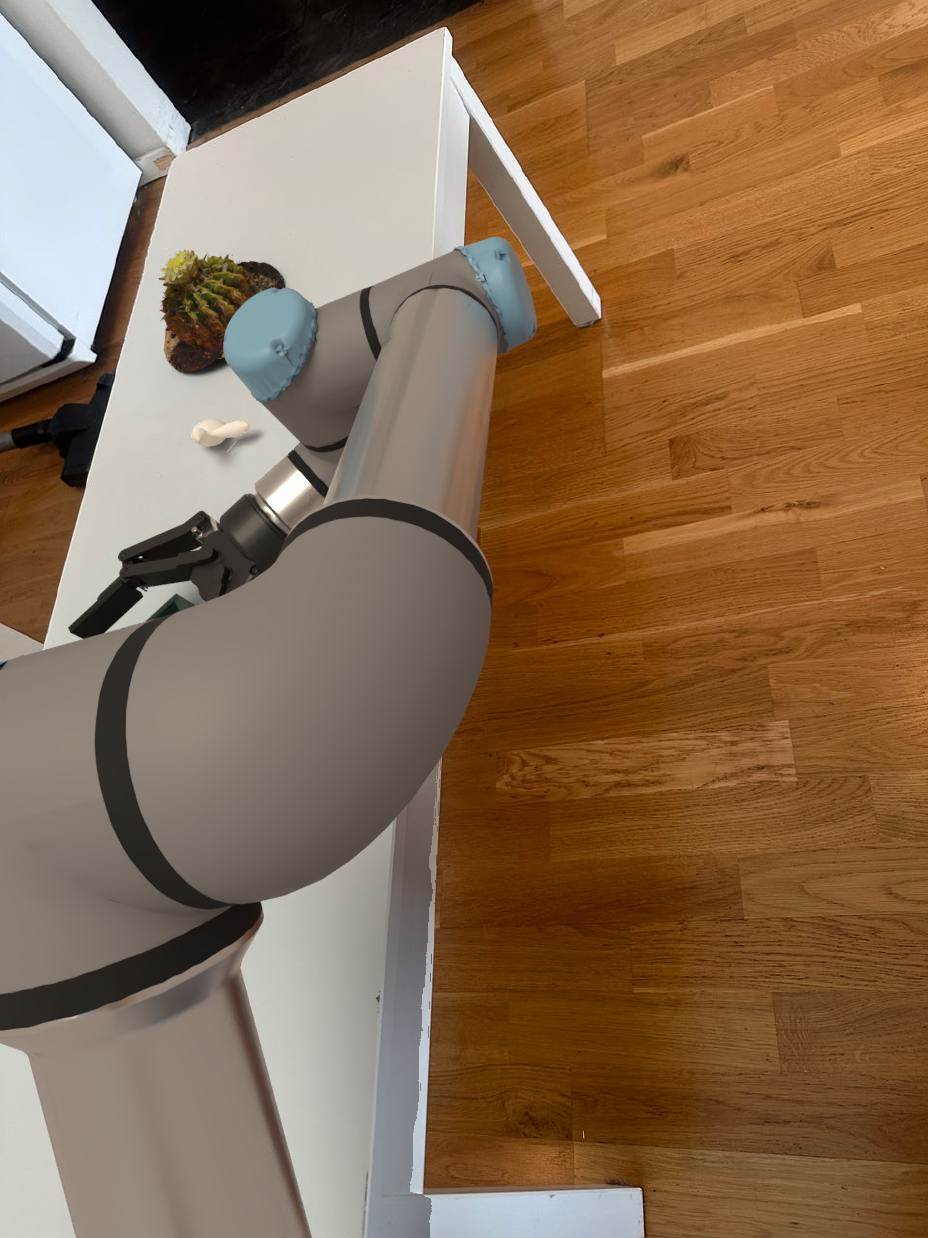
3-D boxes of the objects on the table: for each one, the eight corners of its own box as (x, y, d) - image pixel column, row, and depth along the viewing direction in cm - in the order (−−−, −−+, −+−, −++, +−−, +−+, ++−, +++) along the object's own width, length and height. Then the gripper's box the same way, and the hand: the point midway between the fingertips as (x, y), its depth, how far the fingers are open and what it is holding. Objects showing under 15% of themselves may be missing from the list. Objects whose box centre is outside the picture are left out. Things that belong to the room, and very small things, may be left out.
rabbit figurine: (225, 413, 95) (246, 408, 88) (237, 447, 96) (259, 445, 90) (174, 428, 93) (191, 424, 86) (187, 463, 94) (205, 462, 87)
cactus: (265, 243, 105) (215, 178, 97) (302, 315, 97) (251, 250, 89) (157, 323, 108) (99, 267, 100) (183, 400, 99) (123, 345, 91)
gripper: (372, 629, 70) (184, 800, 70) (248, 468, 83) (92, 613, 84) (324, 590, 63) (118, 779, 64) (198, 424, 77) (30, 581, 78)
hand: (103, 685), depth 74 cm, fingers open, 13 cm apart
